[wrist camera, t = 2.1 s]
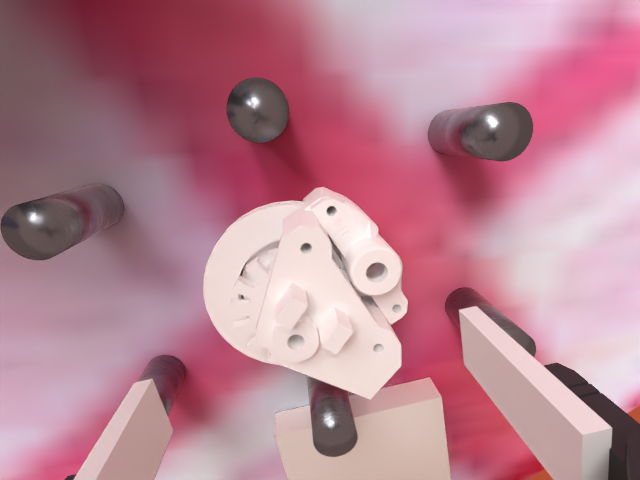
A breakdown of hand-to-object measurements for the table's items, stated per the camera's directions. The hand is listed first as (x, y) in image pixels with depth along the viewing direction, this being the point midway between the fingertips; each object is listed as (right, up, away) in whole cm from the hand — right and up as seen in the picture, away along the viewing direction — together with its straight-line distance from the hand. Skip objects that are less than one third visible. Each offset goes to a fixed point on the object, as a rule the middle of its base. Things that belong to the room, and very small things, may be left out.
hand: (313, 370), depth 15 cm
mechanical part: (-1, +4, +12) cm, 13 cm away
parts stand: (+4, -15, +18) cm, 24 cm away
